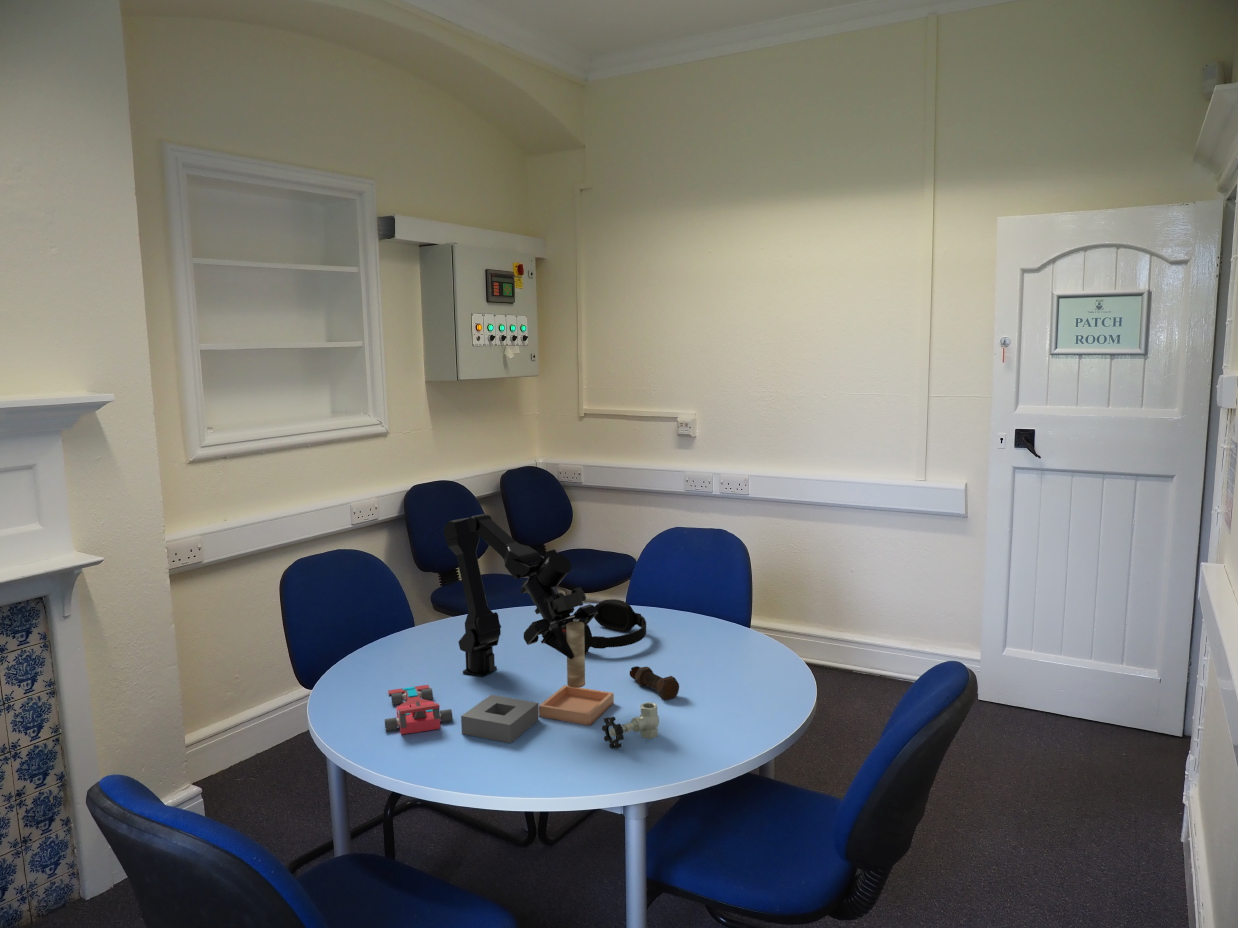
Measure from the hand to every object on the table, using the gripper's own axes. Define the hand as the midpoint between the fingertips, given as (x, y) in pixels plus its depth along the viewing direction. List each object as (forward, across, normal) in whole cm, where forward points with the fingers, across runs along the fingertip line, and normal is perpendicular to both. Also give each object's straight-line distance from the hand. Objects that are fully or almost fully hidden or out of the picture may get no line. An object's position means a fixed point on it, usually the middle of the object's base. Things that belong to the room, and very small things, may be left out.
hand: (579, 655), depth 187 cm
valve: (+22, -2, -4) cm, 23 cm away
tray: (+8, 0, +10) cm, 13 cm away
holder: (+4, -17, +14) cm, 23 cm away
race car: (-11, -24, +30) cm, 40 cm away
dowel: (+4, 0, +6) cm, 7 cm away
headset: (-13, +37, +32) cm, 51 cm away
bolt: (+12, +21, +7) cm, 25 cm away
